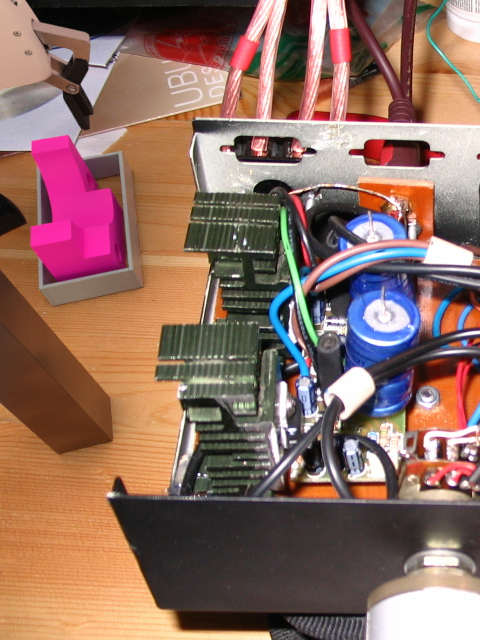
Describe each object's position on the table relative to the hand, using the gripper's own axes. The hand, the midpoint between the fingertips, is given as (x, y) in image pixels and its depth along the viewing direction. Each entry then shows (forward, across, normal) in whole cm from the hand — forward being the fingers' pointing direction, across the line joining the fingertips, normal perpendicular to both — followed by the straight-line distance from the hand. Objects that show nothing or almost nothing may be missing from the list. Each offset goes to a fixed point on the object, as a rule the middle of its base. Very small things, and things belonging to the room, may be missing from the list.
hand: (33, 130), depth 74 cm
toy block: (+15, +1, 0) cm, 15 cm away
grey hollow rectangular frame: (+15, +1, 0) cm, 15 cm away
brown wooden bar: (+15, +3, +24) cm, 28 cm away
